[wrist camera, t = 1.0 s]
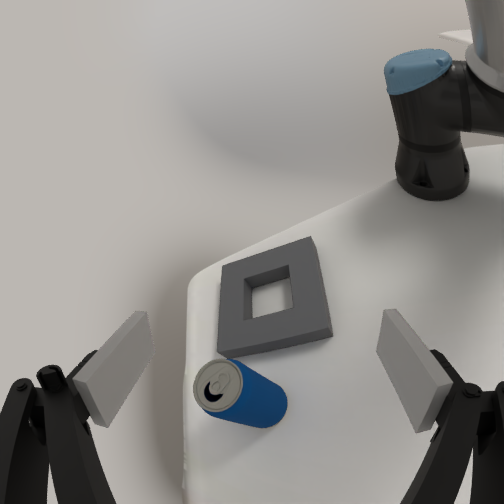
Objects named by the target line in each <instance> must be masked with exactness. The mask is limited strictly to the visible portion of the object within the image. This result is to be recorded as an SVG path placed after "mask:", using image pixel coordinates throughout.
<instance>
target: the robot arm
mask: <svg viewBox="0 0 504 504" xmlns="http://www.w3.org/2000/svg"><path fill="white" fill-rule="evenodd" d="M465 2H466V5H467V10H468V15H469V20H470V25H471V31H472V38H473V43H472V44H471V45H470V46H469V47H468V48H467V50H466V55H465V56H466V57H465V58H466V61H453V60H452V58H451V57H450V55H449V53H448V52H446V51H444V50H440V49H436V50H434V49H421V50H414V51H410V52H406V53H403V54H400V55H398V56H396V57H394V58H392V59H391V60H389V61H388V62H387V64H386V65H385V67H384V75H385V79H386V84H387V92H388V94H389V96H390V100H391V104H392V108H393V112H394V117H395V121H396V125H397V130H398V135H399V146H398V151H397V157H396V162H395V170H396V176H397V180H398V182H399V184H400V185H401V187H402V188H403V189H404V190H406V191H407V192H408V193H410V194H412V195H414V196H416V197H419V198H422V199H426V200H447V199H451V198H454V197H456V196H458V195H460V194H461V193H462V192H463V191H464V190H465V189H466V188H467V186H468V183H469V164H468V161H467V158H466V155H465V152H464V149H463V147H462V143H461V139H460V131H462V132H472V133H480V134H487V135H494V136H500V137H504V0H465ZM155 352H156V351H155V346H154V342H153V338H152V333H151V329H150V324H149V319H148V314H147V312H144V311H135V312H134V313H133V314H132V315H131V316H130V317H129V318H128V319H127V320H126V321H125V322H124V323H123V325H122V326H121V327H120V328H119V329H118V330H117V331H116V332H115V333H114V334H113V335H112V336H111V337H110V338H109V339H108V340H107V341H106V342H105V344H104V345H103V346H102V347H101V348H100V349H99V350H94V351H93V352H91V353H89V354H88V355H87V356H86V357H85V358H84V359H83V360H82V362H80V363H79V364H78V366H76V367H75V368H74V369H73V371H72V372H71V373H70V374H69V375H68V376H67V377H66V378H65V377H64V375H63V372H62V370H61V368H60V367H59V366H57V365H48V366H45V367H43V368H42V369H40V370H39V371H38V372H37V375H36V377H37V379H38V381H39V383H40V385H41V387H42V388H37V387H34V385H33V383H32V381H31V380H30V379H27V378H22V379H19V380H17V381H15V382H14V383H13V385H12V386H11V388H10V391H9V393H8V395H7V398H6V401H5V403H4V406H3V408H2V411H1V413H0V504H47V487H48V486H47V485H48V473H49V462H50V468H51V474H52V479H53V483H54V488H55V493H56V496H57V501H58V504H116V502H115V499H114V497H113V495H112V492H111V490H110V487H109V485H108V482H107V480H106V477H105V474H104V472H103V469H102V466H101V463H100V460H99V457H98V454H97V451H96V448H95V444H94V441H93V438H92V434H91V430H90V427H89V424H88V422H87V421H86V420H87V419H88V417H89V416H91V418H92V420H93V422H94V423H95V424H97V425H100V426H103V427H106V428H108V427H109V426H110V424H111V422H112V421H113V419H114V417H115V416H116V414H117V413H118V411H119V409H120V408H121V406H122V404H123V403H124V401H125V399H126V398H127V396H128V395H129V393H130V392H131V390H132V388H133V387H134V385H135V384H136V382H137V380H138V379H139V377H140V376H141V374H142V373H143V371H144V369H145V368H146V366H147V365H148V363H149V361H150V360H151V358H152V357H153V355H154V354H155ZM376 352H377V354H378V356H379V358H380V360H381V362H382V364H383V366H384V368H385V370H386V372H387V373H388V375H389V377H390V380H391V382H392V384H393V386H394V388H395V390H396V392H397V394H398V396H399V398H400V400H401V402H402V404H403V406H404V409H405V411H406V413H407V415H408V417H409V419H410V422H411V424H412V426H413V428H414V430H415V433H419V432H423V431H426V430H430V429H431V428H432V426H433V424H434V422H435V420H436V422H437V424H438V428H437V430H436V432H435V433H434V435H433V437H432V439H431V440H430V442H431V444H430V447H429V449H428V451H427V453H426V456H425V458H424V460H423V462H422V464H421V466H420V468H419V470H418V472H417V474H416V476H415V478H414V480H413V482H412V484H411V486H410V487H409V489H408V491H407V493H406V494H405V496H404V498H403V500H402V501H401V503H400V504H454V502H455V499H456V497H457V494H458V492H459V489H460V486H461V484H462V481H463V478H464V475H465V472H466V469H467V466H468V462H469V459H470V456H471V452H472V448H473V473H472V487H471V497H470V504H504V381H502V382H500V383H498V385H497V387H496V389H495V391H484V392H483V391H482V390H481V388H480V387H479V386H477V385H475V384H473V383H465V382H464V381H463V379H462V378H461V377H460V375H459V374H458V373H457V372H456V370H455V369H454V368H453V367H452V365H451V364H450V363H449V362H448V360H447V359H446V358H445V356H444V355H443V354H442V353H440V352H438V351H437V350H435V349H434V350H429V349H428V348H427V347H426V345H425V344H424V343H423V342H422V340H421V339H420V338H419V336H418V335H417V334H416V333H415V331H414V330H413V329H412V328H411V327H410V325H409V324H408V323H407V322H406V320H405V319H404V318H403V317H402V316H401V314H400V313H399V312H398V311H397V310H396V309H388V310H384V312H383V318H382V324H381V329H380V335H379V340H378V345H377V350H376ZM29 421H30V422H29Z"/></svg>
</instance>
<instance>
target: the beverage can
mask: <svg viewBox="0 0 504 504" xmlns="http://www.w3.org/2000/svg"><path fill="white" fill-rule="evenodd" d="M193 393H194V397H195V400H196V402H197V403H198V404H199V406H200V407H202V409H203V410H204V411H205V412H206V413H207V414H209V415H211V416H213V417H216V418H220V419H224V420H228V421H232V422H236V423H240V424H244V425H248V426H253V427H258V428H267V427H271V426H273V425H275V424H276V423H278V422H279V421H280V420H281V419H282V418H283V416H284V415H285V412H286V410H287V397H286V394H285V392H284V390H283V389H282V388H281V387H280V386H279V385H277V384H275V383H273V382H272V381H270V380H268V379H267V378H265V377H263V376H262V375H260V374H258V373H257V372H255V371H254V370H252V369H250V368H249V367H247V366H245V365H244V364H242V363H241V362H239V361H237V360H233V359H216V360H212V361H210V362H208V363H207V364H205V365H204V366H203V367H202V368H201V369H200V371H199V372H198V374H197V375H196V378H195V381H194V385H193Z"/></svg>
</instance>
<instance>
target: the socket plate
mask: <svg viewBox="0 0 504 504" xmlns="http://www.w3.org/2000/svg"><path fill="white" fill-rule="evenodd" d="M288 277H290V280H291V288H292V297H293V306H294V308H291V309H287V310H283V311H279V312H276V313H272V314H268V315H264V316H260V317H256V318H252V288H255V287H258V286H261V285H265V284H268V283H272V282H275V281H278V280H282V279H285V278H288ZM332 336H333V331H332V325H331V320H330V314H329V309H328V303H327V298H326V293H325V288H324V283H323V278H322V273H321V268H320V263H319V259H318V254H317V250H316V246H315V244H314V242H313V240H312V238H311V236H309V237H306V238H303V239H300V240H297V241H295V242H292V243H289V244H286V245H283V246H280V247H277V248H274V249H271V250H268V251H265V252H262V253H259V254H256V255H253V256H250V257H247V258H244V259H241V260H238V261H235V262H232V263H229V264H226V265H223V266H222V276H221V291H220V307H219V323H218V342H217V352H218V353H219V354H221V355H222V356H224V357H226V358H227V359H230V358H236V357H241V356H247V355H252V354H257V353H263V352H268V351H272V350H277V349H282V348H286V347H291V346H295V345H300V344H304V343H308V342H312V341H316V340H320V339H324V338H328V337H332Z"/></svg>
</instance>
